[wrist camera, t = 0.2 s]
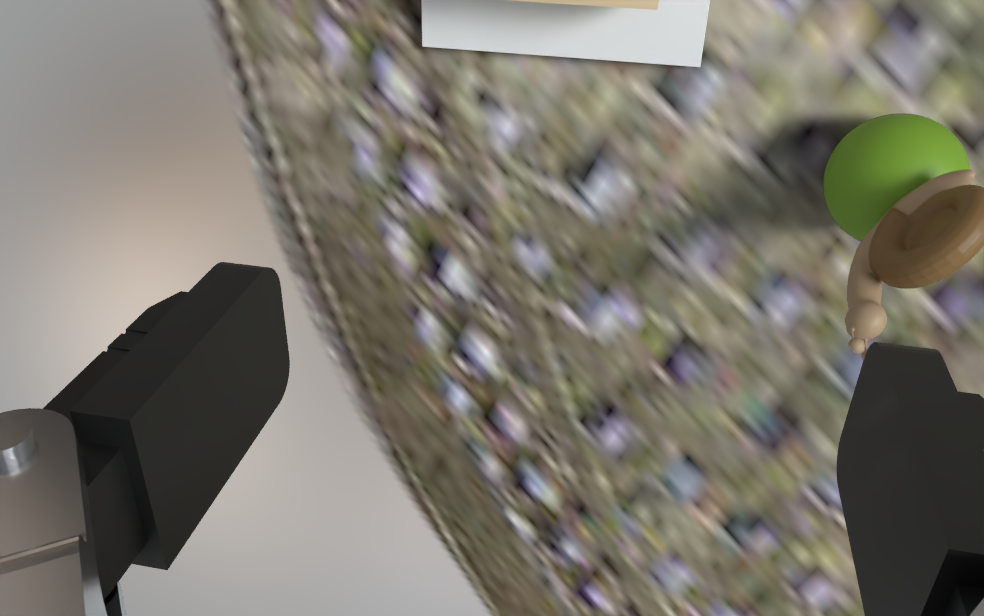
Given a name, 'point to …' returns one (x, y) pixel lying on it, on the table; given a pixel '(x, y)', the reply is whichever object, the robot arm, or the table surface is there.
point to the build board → (570, 29)
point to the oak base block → (606, 3)
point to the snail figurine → (901, 211)
